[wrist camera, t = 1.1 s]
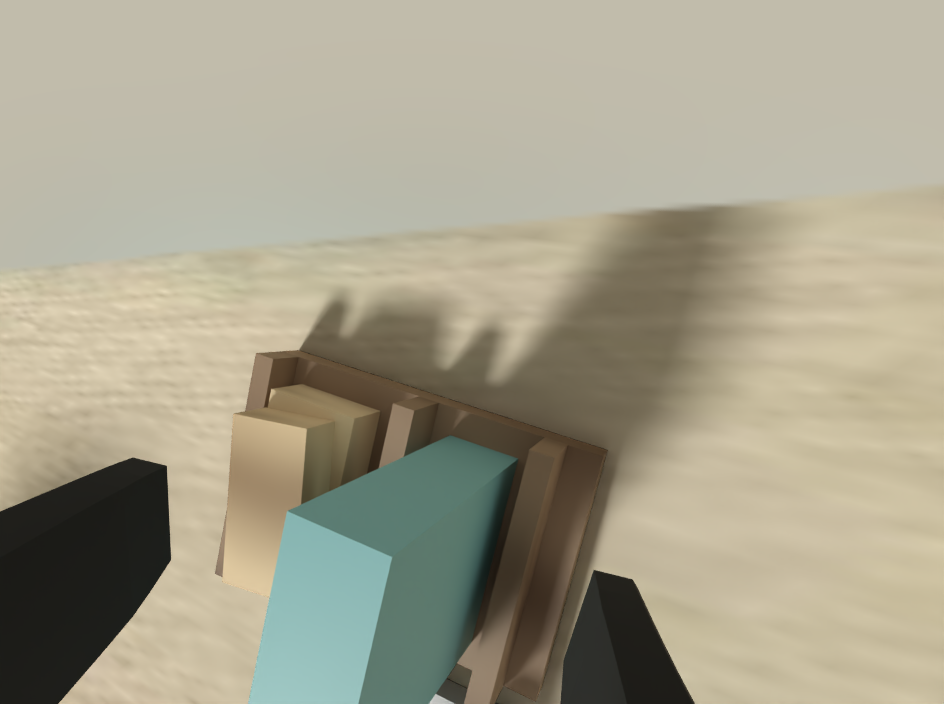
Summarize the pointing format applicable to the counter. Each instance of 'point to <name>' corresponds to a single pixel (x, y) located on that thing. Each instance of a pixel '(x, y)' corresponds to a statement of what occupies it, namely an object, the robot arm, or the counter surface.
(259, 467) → the offcut top
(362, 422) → the offcut low
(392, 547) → the teal block
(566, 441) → the rack
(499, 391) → the counter surface
